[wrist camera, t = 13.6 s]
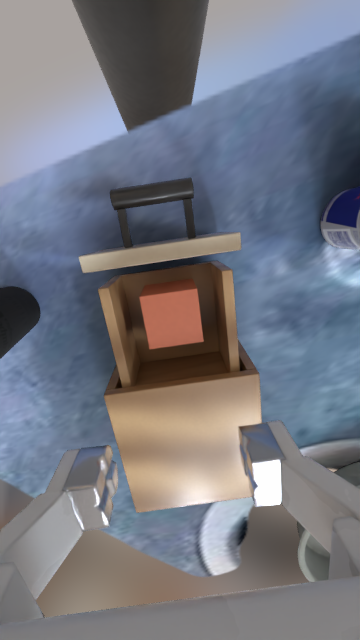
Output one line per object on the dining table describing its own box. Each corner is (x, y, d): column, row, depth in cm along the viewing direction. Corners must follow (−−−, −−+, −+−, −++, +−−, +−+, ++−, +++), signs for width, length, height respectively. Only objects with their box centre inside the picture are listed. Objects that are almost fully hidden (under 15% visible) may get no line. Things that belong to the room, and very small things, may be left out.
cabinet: (122, 349, 29) (103, 395, 21) (234, 333, 29) (259, 373, 20) (144, 444, 33) (136, 513, 25) (241, 430, 33) (265, 495, 25)
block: (144, 285, 25) (139, 296, 20) (192, 278, 24) (197, 288, 20) (152, 329, 26) (149, 349, 22) (198, 323, 26) (203, 341, 22)
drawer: (91, 201, 23) (60, 190, 17) (217, 182, 23) (236, 163, 16) (129, 365, 28) (117, 405, 22) (231, 351, 28) (249, 386, 22)
